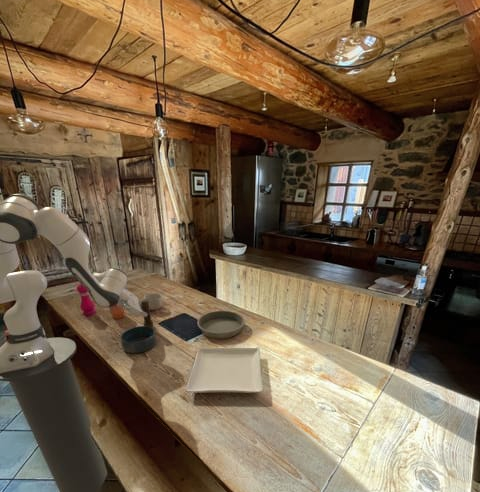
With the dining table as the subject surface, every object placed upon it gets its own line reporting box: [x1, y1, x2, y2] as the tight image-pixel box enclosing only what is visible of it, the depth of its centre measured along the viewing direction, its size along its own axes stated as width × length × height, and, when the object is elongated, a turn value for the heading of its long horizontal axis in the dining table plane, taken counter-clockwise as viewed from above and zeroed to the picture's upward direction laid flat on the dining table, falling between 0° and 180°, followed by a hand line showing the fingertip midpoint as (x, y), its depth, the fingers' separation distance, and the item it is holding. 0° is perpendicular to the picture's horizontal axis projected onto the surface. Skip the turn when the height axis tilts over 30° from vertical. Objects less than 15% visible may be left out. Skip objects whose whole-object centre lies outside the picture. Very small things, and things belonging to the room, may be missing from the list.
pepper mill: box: [76, 282, 96, 317], centre depth 154 cm, size 7×7×20 cm
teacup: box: [138, 292, 163, 311], centre depth 161 cm, size 14×11×8 cm
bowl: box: [119, 325, 157, 354], centre depth 124 cm, size 15×15×6 cm
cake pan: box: [196, 310, 246, 339], centre depth 139 cm, size 25×25×4 cm
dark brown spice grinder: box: [140, 298, 155, 329], centre depth 137 cm, size 5×5×16 cm
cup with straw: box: [108, 305, 125, 320], centre depth 150 cm, size 9×9×18 cm
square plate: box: [185, 347, 264, 394], centre depth 105 cm, size 27×27×4 cm
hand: (145, 311), depth 136 cm, fingers open, 8 cm apart
